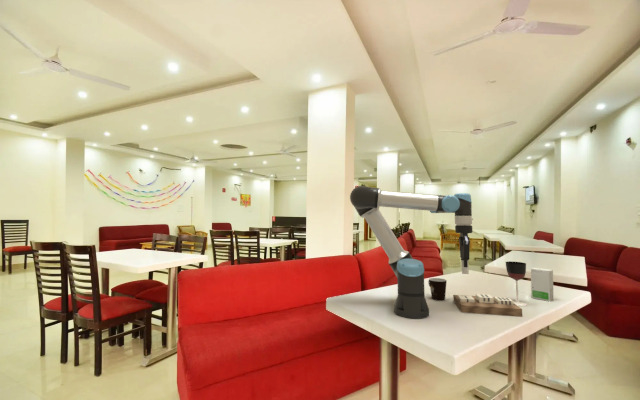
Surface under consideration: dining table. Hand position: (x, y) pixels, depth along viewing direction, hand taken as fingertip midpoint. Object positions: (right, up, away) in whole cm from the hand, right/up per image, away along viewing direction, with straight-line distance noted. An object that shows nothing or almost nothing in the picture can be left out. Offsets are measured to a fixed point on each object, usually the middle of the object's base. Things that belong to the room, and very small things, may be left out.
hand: (465, 273), depth 138 cm
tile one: (0, -13, -1) cm, 14 cm away
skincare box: (+46, -16, +11) cm, 51 cm away
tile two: (+7, -12, -3) cm, 15 cm away
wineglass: (+28, -16, +4) cm, 32 cm away
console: (+7, -15, -3) cm, 18 cm away
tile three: (+15, -13, -5) cm, 21 cm away
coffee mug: (-8, -17, +14) cm, 23 cm away
